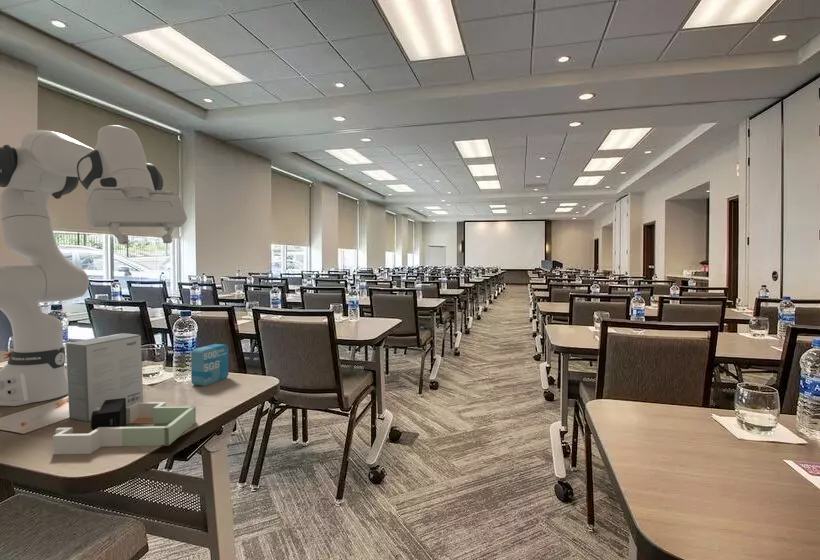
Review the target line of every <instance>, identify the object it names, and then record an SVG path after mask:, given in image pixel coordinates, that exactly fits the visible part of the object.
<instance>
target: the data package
mask: <svg viewBox="0 0 820 560" xmlns="http://www.w3.org/2000/svg"><path fill="white" fill-rule="evenodd" d="M190 356H191V357H190V359H191V360H190V366H191V368H190V369H191V370H190V371H191V374H190V375H191V383H192V385H194V386H200V387H201V386H202V387H205V386H206V387H207V386H209V385H212V384H215V383H218V382H221V381H223V380H226V379H227V378H228V377H229V347H228V345H227V344H223V343H221V344H220V343H214V344H209V345H205V346H201V347H197V348H196V347H195V348H194V349H192V351H191V353H190Z"/></svg>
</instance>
